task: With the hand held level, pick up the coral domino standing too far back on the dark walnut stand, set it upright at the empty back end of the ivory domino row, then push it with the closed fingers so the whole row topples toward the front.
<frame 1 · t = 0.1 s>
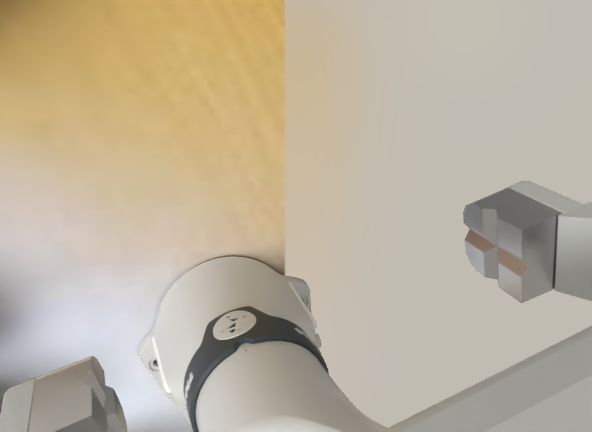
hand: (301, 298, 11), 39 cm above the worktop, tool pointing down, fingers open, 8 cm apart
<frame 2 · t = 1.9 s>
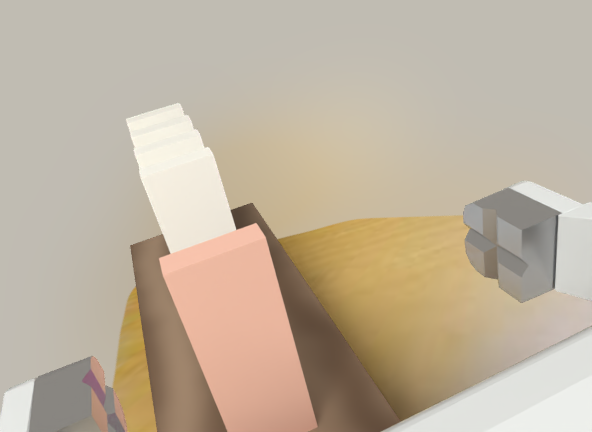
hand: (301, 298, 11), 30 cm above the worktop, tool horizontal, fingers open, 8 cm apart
domino 4: (207, 261, 49), point 10 cm above the worktop, touching domino stand
domino 5: (198, 240, 53), point 10 cm above the worktop, touching domino stand
domino 2: (229, 315, 42), point 10 cm above the worktop, touching domino stand
domino 3: (217, 286, 46), point 10 cm above the worktop, touching domino stand
domino stand: (256, 393, 47), on the worktop
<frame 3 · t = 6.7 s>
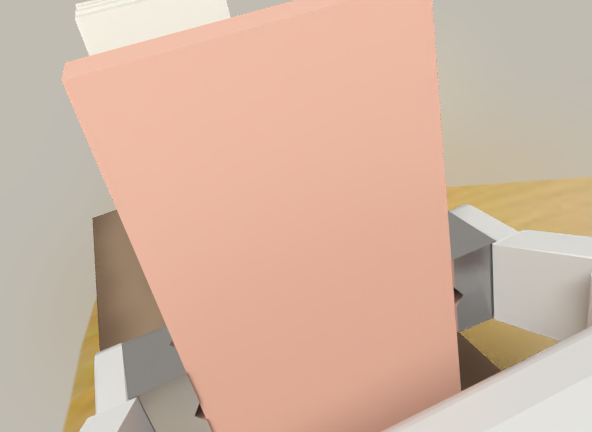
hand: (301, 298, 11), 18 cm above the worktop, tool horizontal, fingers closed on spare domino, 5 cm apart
domino 2: (248, 310, 24), point 10 cm above the worktop, touching domino stand
domino 3: (224, 265, 28), point 10 cm above the worktop, touching domino stand
when the fingers open (21 cm above the worktop, at t = 10.3 s): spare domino drops 2 cm, resting on domino stand.
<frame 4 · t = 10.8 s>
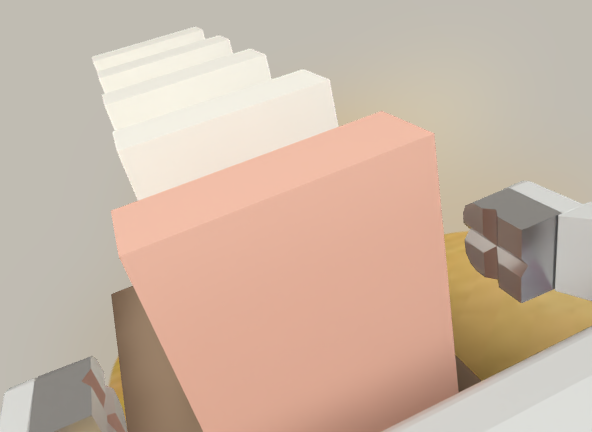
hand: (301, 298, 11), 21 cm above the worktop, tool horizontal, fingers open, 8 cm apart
domino 4: (255, 326, 26), point 10 cm above the worktop, touching domino stand
domino 5: (231, 283, 30), point 10 cm above the worktop, touching domino stand
domino 3: (285, 385, 23), point 10 cm above the worktop, touching domino stand
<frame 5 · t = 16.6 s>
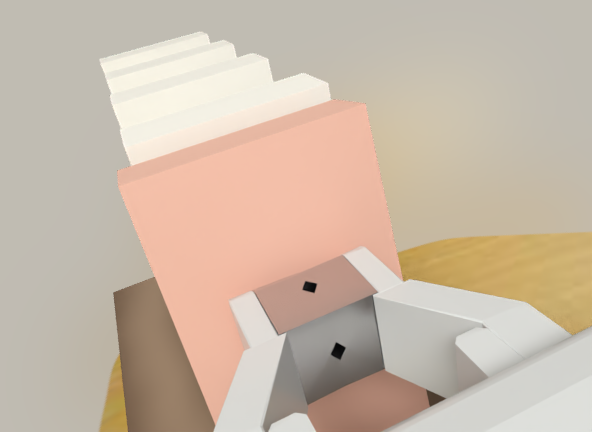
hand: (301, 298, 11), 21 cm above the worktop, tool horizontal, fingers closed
domino 4: (254, 325, 27), point 10 cm above the worktop, touching domino stand
domino 5: (232, 283, 31), point 10 cm above the worktop, touching domino stand
domino 3: (282, 382, 23), point 10 cm above the worktop, touching domino stand
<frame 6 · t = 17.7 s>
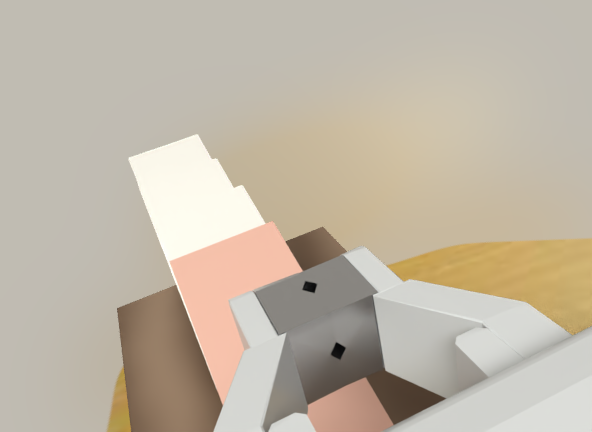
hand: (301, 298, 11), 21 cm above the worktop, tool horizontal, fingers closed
domino 4: (238, 306, 27), point 11 cm above the worktop, tilted 70°, touching domino 3, domino 5
domino 3: (271, 371, 23), point 11 cm above the worktop, tilted 70°, touching domino 2, domino 4, domino stand
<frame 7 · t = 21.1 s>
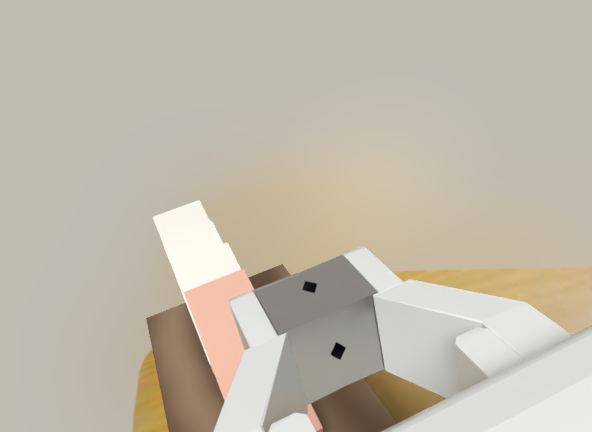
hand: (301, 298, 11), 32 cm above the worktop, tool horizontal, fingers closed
domino 4: (224, 317, 45), point 11 cm above the worktop, tilted 70°, touching domino 3, domino 5
domino 2: (264, 397, 36), point 11 cm above the worktop, tilted 70°, touching domino 3, domino stand, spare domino
domino 3: (241, 355, 40), point 11 cm above the worktop, tilted 70°, touching domino 2, domino 4, domino stand
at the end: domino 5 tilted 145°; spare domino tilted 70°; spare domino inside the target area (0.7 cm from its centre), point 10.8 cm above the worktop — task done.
